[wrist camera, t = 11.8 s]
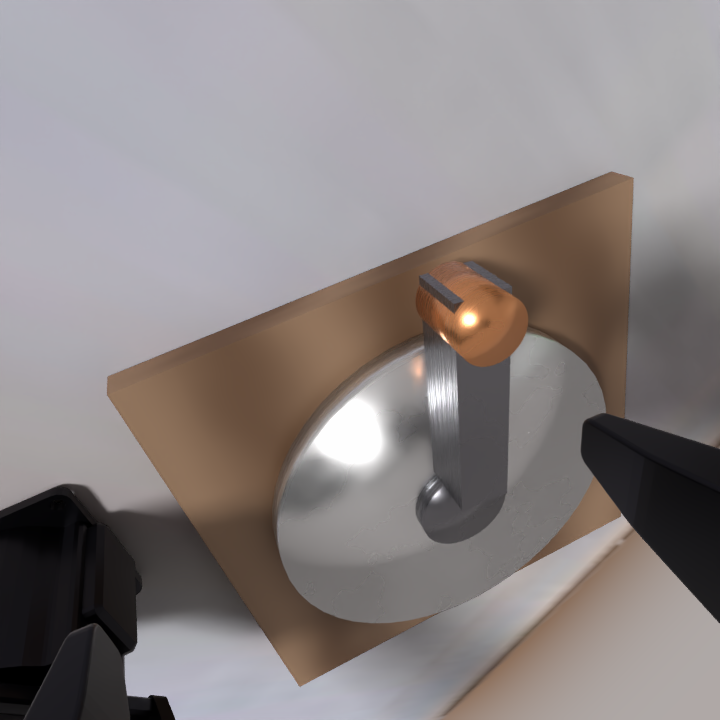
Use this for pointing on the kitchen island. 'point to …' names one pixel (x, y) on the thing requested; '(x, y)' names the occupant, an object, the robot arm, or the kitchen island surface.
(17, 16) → the kitchen island surface
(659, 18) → the kitchen island surface
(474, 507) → the handwheel
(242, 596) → the wheel base
